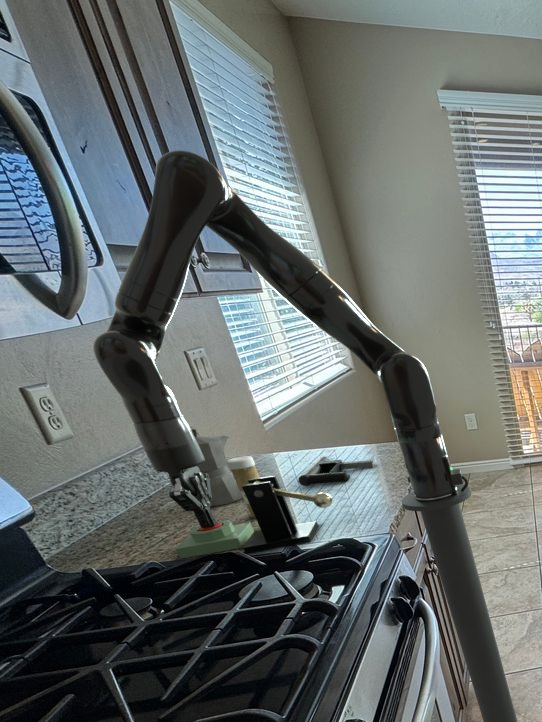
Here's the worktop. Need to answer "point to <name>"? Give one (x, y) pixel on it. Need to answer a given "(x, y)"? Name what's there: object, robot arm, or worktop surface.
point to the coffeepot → (217, 470)
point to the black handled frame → (330, 471)
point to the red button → (211, 527)
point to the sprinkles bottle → (243, 474)
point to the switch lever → (306, 497)
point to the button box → (215, 539)
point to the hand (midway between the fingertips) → (209, 526)
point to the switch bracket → (273, 518)
